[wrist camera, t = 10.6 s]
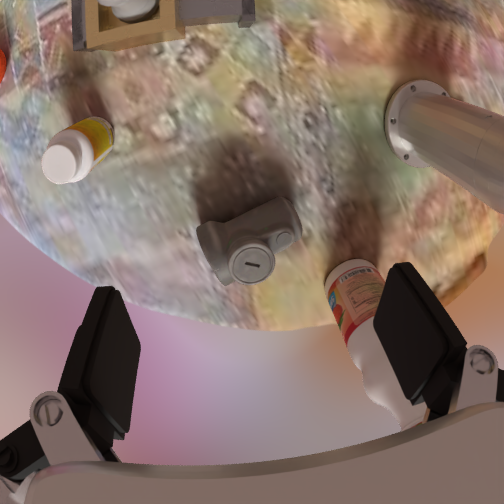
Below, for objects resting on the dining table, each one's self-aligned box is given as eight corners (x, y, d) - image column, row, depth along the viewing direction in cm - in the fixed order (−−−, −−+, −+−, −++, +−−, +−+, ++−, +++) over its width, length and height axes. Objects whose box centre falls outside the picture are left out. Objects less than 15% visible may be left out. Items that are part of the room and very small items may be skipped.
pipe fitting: (219, 266, 43) (227, 311, 34) (192, 219, 39) (193, 255, 30) (296, 230, 43) (324, 266, 34) (276, 179, 39) (303, 204, 30)
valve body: (247, -27, 22) (257, -53, 15) (250, 33, 27) (260, 23, 20) (89, -1, 21) (56, -14, 14) (91, 57, 26) (58, 58, 19)
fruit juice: (384, 275, 49) (465, 415, 26) (344, 309, 52) (403, 452, 29) (356, 246, 45) (449, 407, 22) (311, 285, 48) (371, 453, 25)
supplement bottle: (87, 108, 29) (45, 126, 21) (123, 128, 31) (92, 152, 23) (68, 147, 31) (28, 176, 23) (103, 166, 33) (71, 202, 25)
